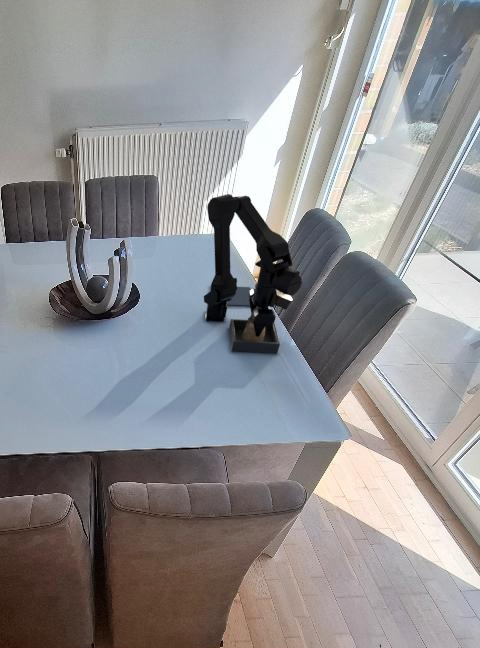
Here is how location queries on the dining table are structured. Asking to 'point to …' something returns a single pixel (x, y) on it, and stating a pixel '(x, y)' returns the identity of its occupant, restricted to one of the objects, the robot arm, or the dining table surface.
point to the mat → (240, 297)
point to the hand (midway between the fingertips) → (256, 329)
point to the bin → (265, 347)
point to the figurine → (252, 331)
